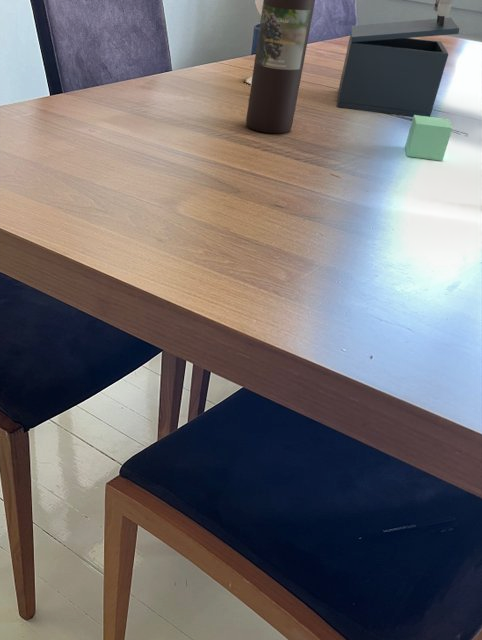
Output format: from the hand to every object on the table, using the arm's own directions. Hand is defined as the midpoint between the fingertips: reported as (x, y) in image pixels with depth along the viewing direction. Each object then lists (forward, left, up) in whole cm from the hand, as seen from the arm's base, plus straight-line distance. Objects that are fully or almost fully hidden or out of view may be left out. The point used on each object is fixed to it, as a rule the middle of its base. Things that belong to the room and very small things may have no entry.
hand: (439, 13), depth 120 cm
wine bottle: (+24, +26, -15) cm, 38 cm away
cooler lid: (+5, 0, -3) cm, 6 cm away
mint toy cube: (+1, +29, -15) cm, 32 cm away
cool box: (+6, 0, -15) cm, 16 cm away
